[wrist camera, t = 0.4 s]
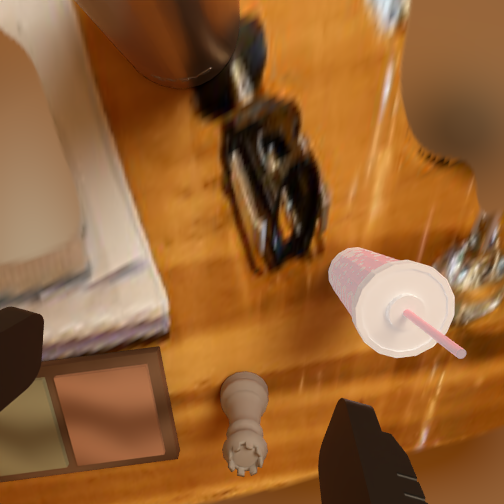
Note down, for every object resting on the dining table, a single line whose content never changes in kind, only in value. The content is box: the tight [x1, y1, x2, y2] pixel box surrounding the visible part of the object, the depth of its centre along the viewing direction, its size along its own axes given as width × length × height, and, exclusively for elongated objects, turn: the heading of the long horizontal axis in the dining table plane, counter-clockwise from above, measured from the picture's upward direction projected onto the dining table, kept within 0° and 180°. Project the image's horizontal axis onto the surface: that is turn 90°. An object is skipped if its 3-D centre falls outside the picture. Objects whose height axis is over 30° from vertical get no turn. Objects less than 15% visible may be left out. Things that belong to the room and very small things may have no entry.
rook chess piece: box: [220, 372, 268, 477], centre depth 26 cm, size 4×4×8 cm
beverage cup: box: [328, 247, 466, 359], centre depth 21 cm, size 6×6×14 cm
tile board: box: [0, 347, 180, 482], centre depth 29 cm, size 11×28×1 cm, turn 97°
